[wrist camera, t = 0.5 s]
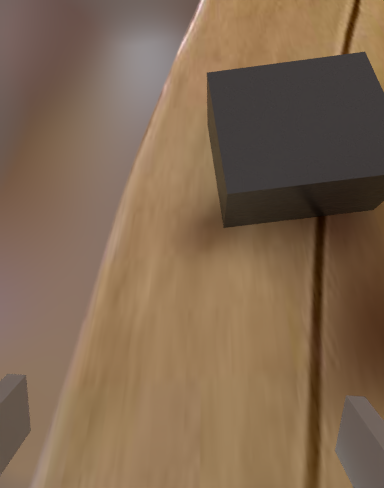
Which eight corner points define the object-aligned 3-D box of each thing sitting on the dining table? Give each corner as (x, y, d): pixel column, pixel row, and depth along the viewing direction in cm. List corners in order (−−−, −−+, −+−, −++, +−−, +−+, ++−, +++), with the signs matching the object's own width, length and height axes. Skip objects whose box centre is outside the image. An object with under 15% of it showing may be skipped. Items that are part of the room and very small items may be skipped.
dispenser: (379, 209, 34) (428, 169, 26) (223, 227, 34) (227, 194, 27) (341, 107, 39) (372, 50, 32) (207, 124, 40) (206, 72, 32)
